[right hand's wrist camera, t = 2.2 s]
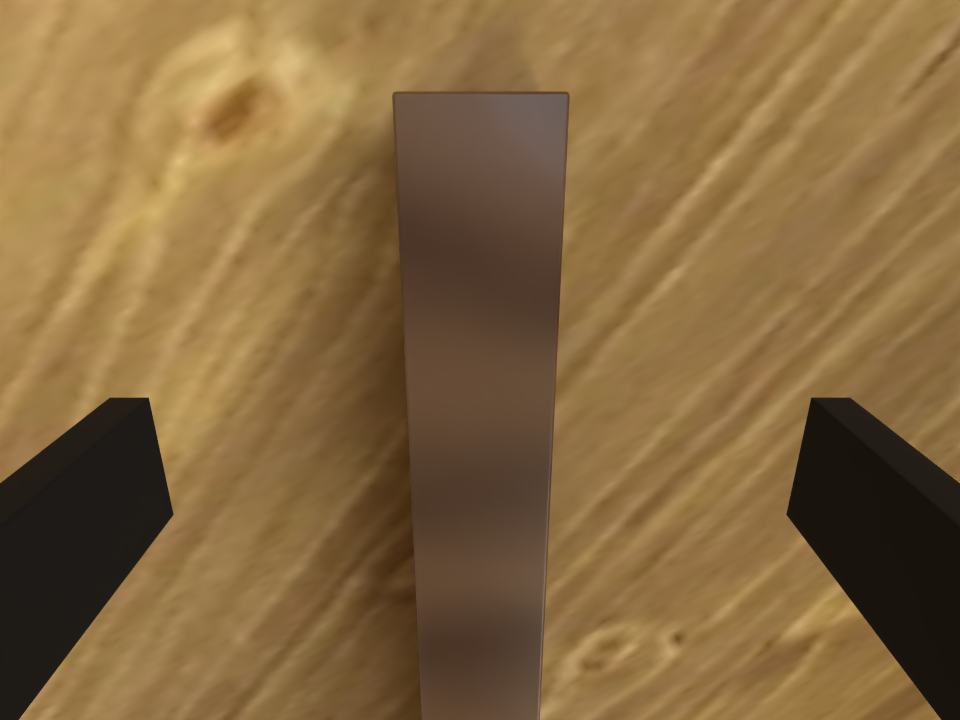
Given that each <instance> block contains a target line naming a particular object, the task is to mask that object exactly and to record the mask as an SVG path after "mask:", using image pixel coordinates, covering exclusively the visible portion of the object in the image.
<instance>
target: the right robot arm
mask: <svg viewBox="0 0 960 720" xmlns="http://www.w3.org/2000/svg"><path fill="white" fill-rule="evenodd" d="M172 516H173V510H172V506H171V501H170V496H169V491H168V487H167V482H166V477H165V473H164V468H163V463H162V458H161V454H160V449H159V444H158V440H157V435H156V430H155V425H154V421H153V416H152V411H151V407H150V402H149V398H109V399H108V400H106V401H105V402H104V403H103V404H101V405H100V406H99V407H97V408H96V409H95V410H94V411H92V412H91V413H90V414H89V415H87V416H86V417H85V418H83V419H82V420H81V421H80V422H78V423H77V424H76V425H74V426H73V427H72V428H71V429H69V430H68V431H67V432H65V433H64V434H63V435H62V436H60V437H59V438H58V439H57V440H55V441H54V442H53V443H51V444H50V445H49V446H48V447H46V448H45V449H44V450H42V451H41V452H40V453H39V454H37V455H36V456H35V457H33V458H32V459H31V460H30V461H28V462H27V463H26V464H24V465H23V466H22V467H21V468H19V469H18V470H17V471H16V472H14V473H13V474H12V475H10V476H9V477H8V478H7V479H5V480H4V481H3V482H1V483H0V720H19V718H20V717H21V716H22V715H23V713H24V712H25V711H26V709H27V708H28V707H29V705H30V704H31V703H32V701H33V700H34V699H35V697H36V696H37V695H38V693H39V692H40V691H41V689H42V688H43V687H44V685H45V684H46V683H47V681H48V680H49V679H50V677H51V676H52V675H53V673H54V672H55V671H56V669H57V668H58V667H59V666H60V664H61V663H62V662H63V660H64V659H65V658H66V656H67V655H68V654H69V652H70V651H71V650H72V648H73V647H74V646H75V644H76V643H77V642H78V640H79V639H80V638H81V636H82V635H83V634H84V632H85V631H86V630H87V628H88V627H89V626H90V624H91V623H92V622H93V621H94V619H95V618H96V617H97V615H98V614H99V613H100V611H101V610H102V609H103V607H104V606H105V605H106V603H107V602H108V601H109V599H110V598H111V597H112V595H113V594H114V593H115V591H116V590H117V589H118V587H119V586H120V585H121V583H122V582H123V581H124V579H125V578H126V577H127V575H128V574H129V573H130V572H131V570H132V569H133V568H134V566H135V565H136V564H137V562H138V561H139V560H140V558H141V557H142V556H143V554H144V553H145V552H146V550H147V549H148V548H149V546H150V545H151V544H152V542H153V541H154V540H155V538H156V537H157V536H158V534H159V533H160V532H161V530H162V529H163V528H164V527H165V525H166V524H167V523H168V521H169V520H170V519H171V517H172ZM787 516H788V517H789V519H790V520H791V521H792V523H793V524H794V525H795V527H796V528H797V529H798V530H799V532H800V533H801V534H802V536H803V537H804V538H805V540H806V541H807V542H808V544H809V545H810V546H811V548H812V549H813V550H814V552H815V553H816V554H817V556H818V557H819V558H820V560H821V561H822V562H823V564H824V565H825V566H826V568H827V569H828V570H829V572H830V573H831V574H832V575H833V577H834V578H835V579H836V581H837V582H838V583H839V585H840V586H841V587H842V589H843V590H844V591H845V593H846V594H847V595H848V597H849V598H850V599H851V601H852V602H853V603H854V605H855V606H856V607H857V609H858V610H859V611H860V613H861V614H862V615H863V617H864V618H865V619H866V621H867V622H868V623H869V624H870V626H871V627H872V628H873V630H874V631H875V632H876V634H877V635H878V636H879V638H880V639H881V640H882V642H883V643H884V644H885V646H886V647H887V648H888V650H889V651H890V652H891V654H892V655H893V656H894V658H895V659H896V660H897V662H898V663H899V664H900V666H901V667H902V668H903V669H904V671H905V672H906V673H907V675H908V676H909V677H910V679H911V680H912V681H913V683H914V684H915V685H916V687H917V688H918V689H919V691H920V692H921V693H922V695H923V696H924V697H925V699H926V700H927V701H928V703H929V704H930V705H931V707H932V708H933V709H934V711H935V712H936V713H937V715H938V716H939V717H940V718H941V720H960V483H959V482H957V481H956V480H955V479H953V478H952V477H951V476H950V475H948V474H947V473H946V472H944V471H943V470H942V469H941V468H939V467H938V466H937V465H935V464H934V463H933V462H932V461H930V460H929V459H928V458H927V457H925V456H924V455H923V454H921V453H920V452H919V451H918V450H916V449H915V448H914V447H912V446H911V445H910V444H909V443H907V442H906V441H905V440H903V439H902V438H901V437H900V436H898V435H897V434H896V433H895V432H893V431H892V430H891V429H889V428H888V427H887V426H886V425H884V424H883V423H882V422H880V421H879V420H878V419H877V418H875V417H874V416H873V415H871V414H870V413H869V412H868V411H866V410H865V409H864V408H863V407H861V406H860V405H859V404H857V403H856V402H855V401H854V400H852V399H851V398H811V402H810V407H809V411H808V416H807V421H806V425H805V430H804V435H803V440H802V444H801V449H800V454H799V458H798V463H797V468H796V473H795V477H794V482H793V487H792V491H791V496H790V501H789V506H788V510H787Z"/></svg>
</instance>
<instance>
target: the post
mask: <svg viewBox="0 0 960 720" xmlns="http://www.w3.org/2000/svg"><path fill="white" fill-rule="evenodd" d="M569 97H570V96H569V93H568V92H394V93H393V95H392V101H393V122H394V143H395V165H396V186H397V207H398V228H399V249H400V271H401V292H402V313H403V334H404V356H405V377H406V398H407V419H408V441H409V462H410V483H411V504H412V526H413V547H414V568H415V589H416V610H417V632H418V653H419V674H420V695H421V717H422V720H540V700H541V679H542V658H543V638H544V617H545V596H546V575H547V554H548V534H549V513H550V492H551V471H552V450H553V430H554V409H555V388H556V367H557V346H558V326H559V305H560V284H561V263H562V242H563V222H564V201H565V180H566V159H567V138H568V117H569Z"/></svg>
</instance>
